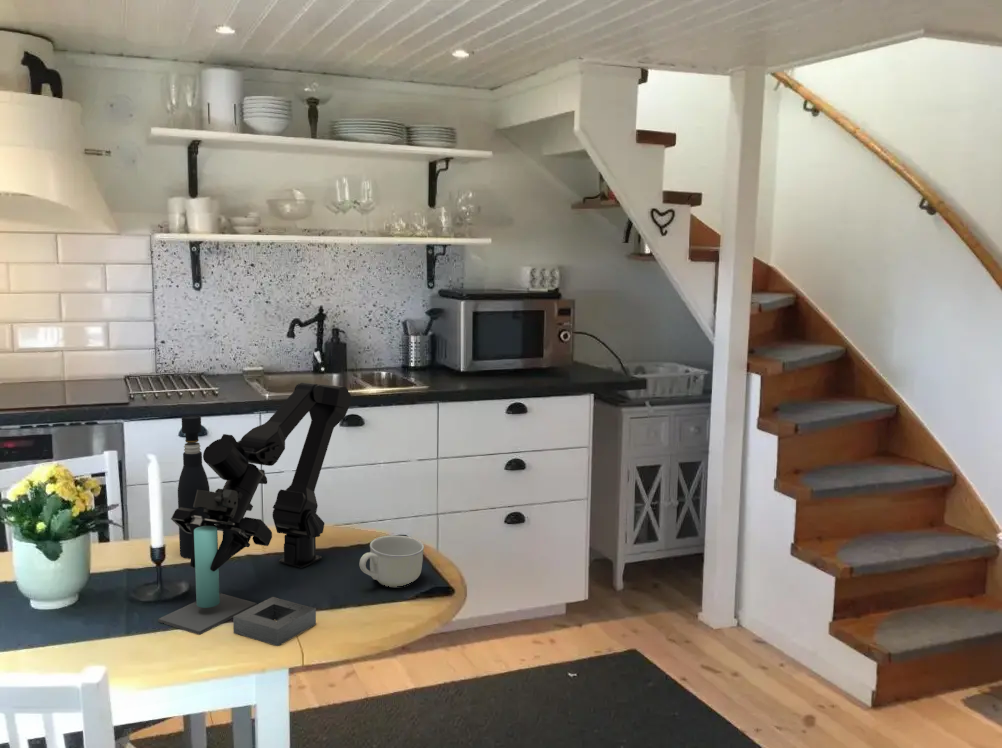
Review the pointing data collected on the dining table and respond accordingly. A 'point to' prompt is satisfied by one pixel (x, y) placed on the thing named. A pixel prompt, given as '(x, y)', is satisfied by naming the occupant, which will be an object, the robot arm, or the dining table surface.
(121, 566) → the dining table surface
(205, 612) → the rubber pad
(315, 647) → the dining table surface
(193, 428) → the black bottle
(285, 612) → the socket block
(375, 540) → the teacup
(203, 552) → the teal peg
